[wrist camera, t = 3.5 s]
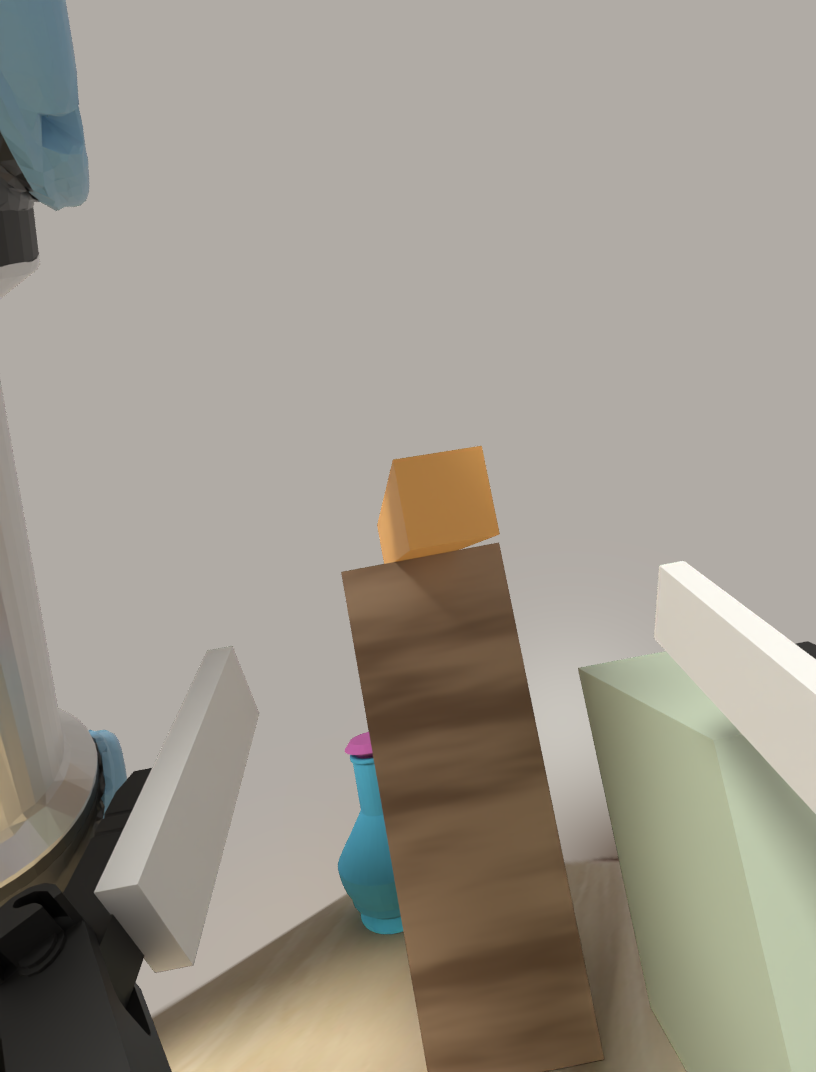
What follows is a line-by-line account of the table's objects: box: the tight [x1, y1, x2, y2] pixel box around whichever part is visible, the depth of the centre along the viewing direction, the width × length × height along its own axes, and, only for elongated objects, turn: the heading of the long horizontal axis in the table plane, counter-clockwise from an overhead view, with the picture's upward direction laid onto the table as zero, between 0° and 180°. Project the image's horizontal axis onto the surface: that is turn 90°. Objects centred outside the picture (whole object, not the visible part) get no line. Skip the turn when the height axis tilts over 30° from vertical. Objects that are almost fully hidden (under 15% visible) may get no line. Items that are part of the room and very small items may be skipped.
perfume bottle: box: [338, 732, 403, 934], centre depth 44 cm, size 9×9×15 cm
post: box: [341, 543, 604, 1072], centre depth 33 cm, size 10×10×30 cm
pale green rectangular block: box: [578, 651, 816, 1072], centre depth 23 cm, size 14×8×21 cm, turn 179°
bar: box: [377, 446, 500, 564], centre depth 31 cm, size 22×4×4 cm, turn 5°
